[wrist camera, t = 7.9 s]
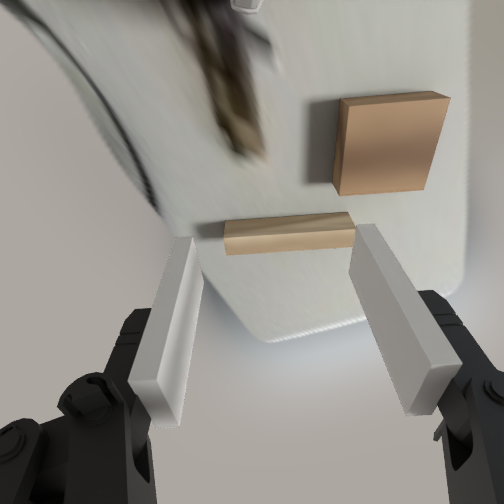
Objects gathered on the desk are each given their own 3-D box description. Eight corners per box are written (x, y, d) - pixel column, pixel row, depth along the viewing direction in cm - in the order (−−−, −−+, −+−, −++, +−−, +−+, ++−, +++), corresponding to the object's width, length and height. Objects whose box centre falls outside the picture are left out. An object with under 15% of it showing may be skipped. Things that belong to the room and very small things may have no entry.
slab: (339, 97, 24) (349, 106, 21) (430, 90, 23) (450, 97, 21) (331, 181, 28) (339, 196, 26) (408, 175, 28) (423, 190, 25)
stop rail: (225, 220, 30) (223, 238, 28) (347, 212, 29) (356, 228, 27) (227, 237, 31) (226, 255, 29) (345, 229, 31) (353, 246, 28)
